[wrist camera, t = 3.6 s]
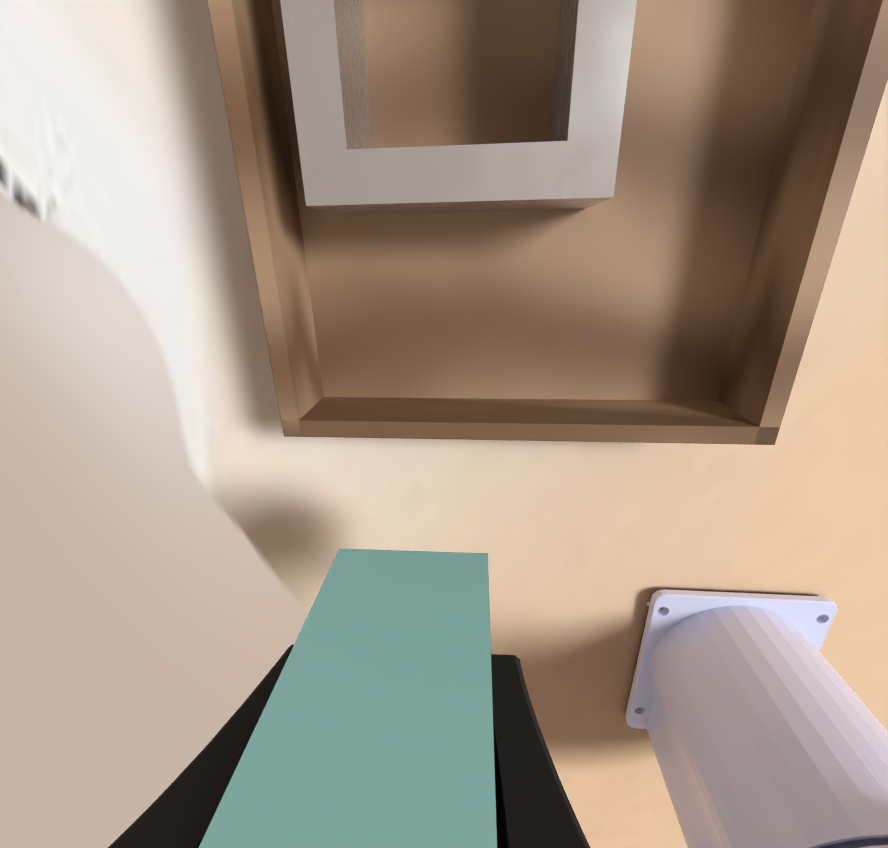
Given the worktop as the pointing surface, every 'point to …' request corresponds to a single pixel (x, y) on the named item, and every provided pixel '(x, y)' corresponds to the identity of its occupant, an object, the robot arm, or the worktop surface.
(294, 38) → the metal socket
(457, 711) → the teal plug
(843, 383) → the worktop surface
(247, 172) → the walnut tray
